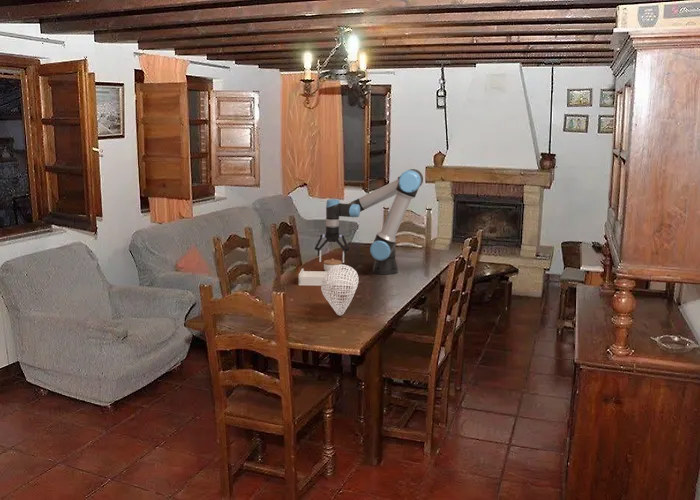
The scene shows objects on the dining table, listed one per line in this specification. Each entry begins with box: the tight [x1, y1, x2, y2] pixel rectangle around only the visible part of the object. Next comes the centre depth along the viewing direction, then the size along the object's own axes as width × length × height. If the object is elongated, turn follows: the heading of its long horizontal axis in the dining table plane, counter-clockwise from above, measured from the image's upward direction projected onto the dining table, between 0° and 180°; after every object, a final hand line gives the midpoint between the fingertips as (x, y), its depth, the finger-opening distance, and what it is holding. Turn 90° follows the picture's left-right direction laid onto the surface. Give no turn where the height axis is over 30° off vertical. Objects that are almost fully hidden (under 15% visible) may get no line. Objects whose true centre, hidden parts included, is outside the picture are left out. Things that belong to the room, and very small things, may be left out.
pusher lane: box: [298, 268, 355, 287], centre depth 363 cm, size 31×15×6 cm, turn 87°
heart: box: [320, 264, 359, 316], centre depth 300 cm, size 28×16×22 cm, turn 174°
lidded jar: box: [323, 258, 343, 272], centre depth 382 cm, size 11×11×9 cm
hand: (331, 261), depth 381 cm, fingers open, 13 cm apart
